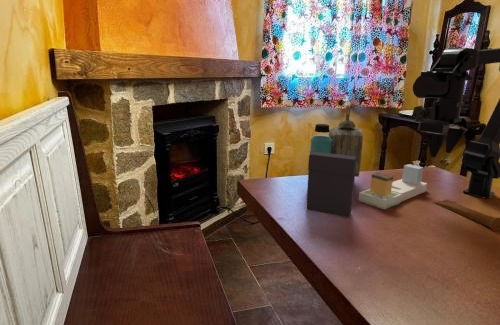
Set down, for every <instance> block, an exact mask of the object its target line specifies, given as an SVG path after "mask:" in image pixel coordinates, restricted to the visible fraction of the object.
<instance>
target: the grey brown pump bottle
mask: <svg viewBox="0 0 500 325" xmlns="http://www.w3.org/2000/svg"><path fill="white" fill-rule="evenodd" d="M350 105H351V104H347V105H346V110H345V111H346V112H345V119H343V120H341V121H340V122H339V124H337V126H335V127H332V128H329V132H328V136H329V137H330V138H331V139H332V147H331V154H338V155H347V156H355V157H356V158H357V159H356V169H355V178H357V177H360V173H361V171H360V170H361V164H362V155H363V154H362V152H363V140H364V138H363V136H364V134H363V131H362V129H361V128H360V127H356V124H355V122H354V121H353V120H351V119H350V117H351V116H350V115H351V114H350V113H351V106H350Z"/></svg>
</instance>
